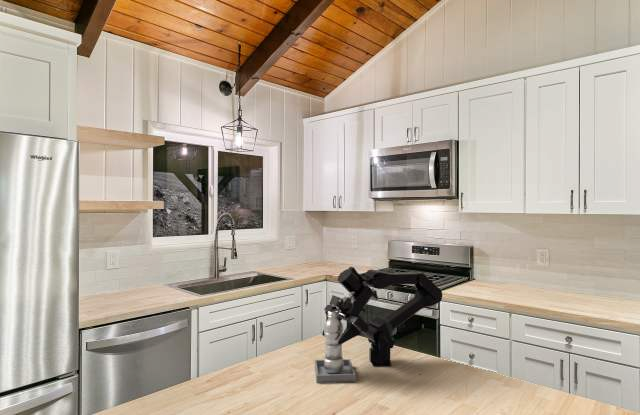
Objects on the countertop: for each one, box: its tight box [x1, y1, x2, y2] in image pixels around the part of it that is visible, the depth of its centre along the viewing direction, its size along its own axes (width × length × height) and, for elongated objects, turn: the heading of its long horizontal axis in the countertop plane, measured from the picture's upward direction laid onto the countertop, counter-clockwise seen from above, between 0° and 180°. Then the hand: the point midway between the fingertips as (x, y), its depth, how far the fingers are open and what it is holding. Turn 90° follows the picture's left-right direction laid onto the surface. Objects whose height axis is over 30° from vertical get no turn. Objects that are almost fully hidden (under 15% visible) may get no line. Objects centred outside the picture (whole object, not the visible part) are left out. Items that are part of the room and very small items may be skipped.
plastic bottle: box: [323, 309, 344, 374], centre depth 133 cm, size 6×7×20 cm
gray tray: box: [314, 358, 357, 384], centre depth 133 cm, size 12×12×2 cm
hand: (330, 339), depth 132 cm, fingers open, 9 cm apart
